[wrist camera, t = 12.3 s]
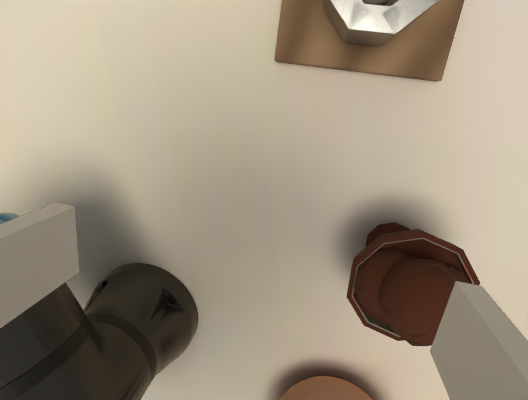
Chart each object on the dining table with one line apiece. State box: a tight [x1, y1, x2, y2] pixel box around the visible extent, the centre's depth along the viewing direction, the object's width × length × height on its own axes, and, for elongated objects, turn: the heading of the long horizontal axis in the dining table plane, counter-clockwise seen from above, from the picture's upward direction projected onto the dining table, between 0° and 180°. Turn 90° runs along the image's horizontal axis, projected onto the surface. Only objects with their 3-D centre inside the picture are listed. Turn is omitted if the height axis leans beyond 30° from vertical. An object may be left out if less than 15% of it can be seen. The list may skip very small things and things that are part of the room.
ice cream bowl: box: [347, 223, 480, 346], centre depth 30 cm, size 11×11×15 cm
